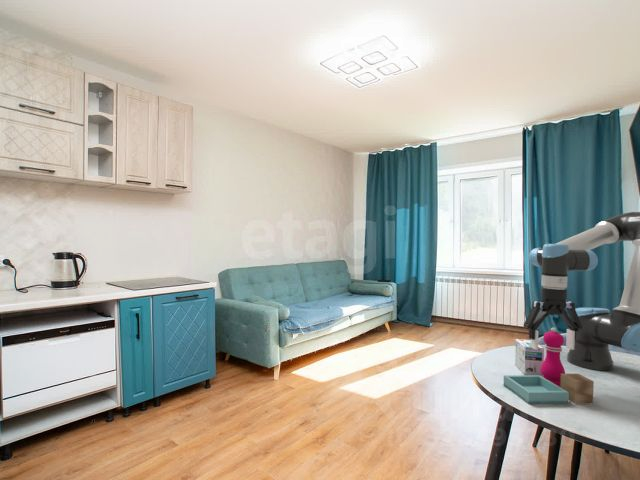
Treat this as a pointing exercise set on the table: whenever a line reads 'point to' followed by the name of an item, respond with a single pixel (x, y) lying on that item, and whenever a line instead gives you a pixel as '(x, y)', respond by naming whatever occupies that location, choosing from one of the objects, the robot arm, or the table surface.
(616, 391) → the table surface
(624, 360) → the table surface
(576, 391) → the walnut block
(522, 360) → the light bulb box
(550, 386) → the tray
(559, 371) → the pepper mill
